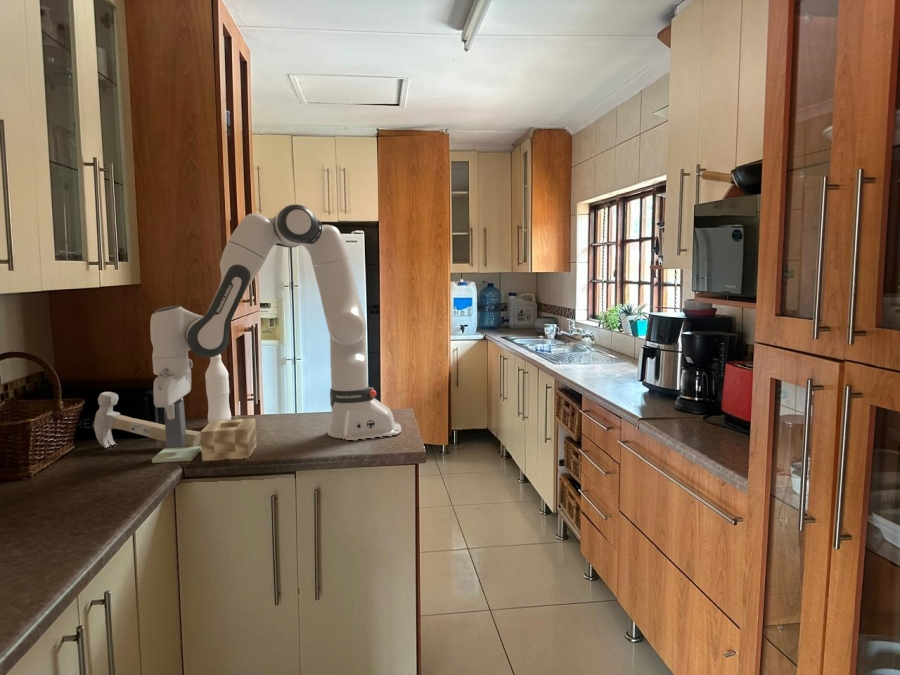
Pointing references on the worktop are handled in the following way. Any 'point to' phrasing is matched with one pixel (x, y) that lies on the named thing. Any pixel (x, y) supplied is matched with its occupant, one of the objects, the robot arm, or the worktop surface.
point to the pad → (177, 454)
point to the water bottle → (217, 390)
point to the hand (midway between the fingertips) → (174, 416)
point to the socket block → (228, 439)
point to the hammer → (129, 424)
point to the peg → (176, 426)
